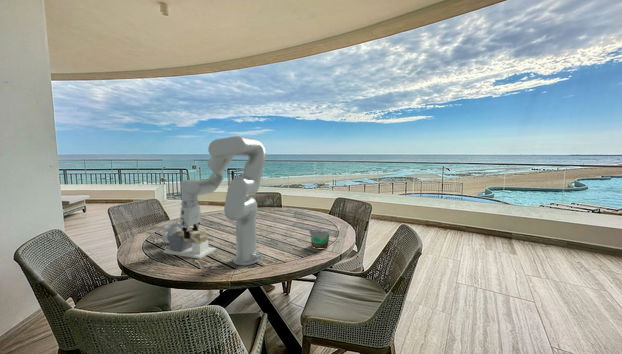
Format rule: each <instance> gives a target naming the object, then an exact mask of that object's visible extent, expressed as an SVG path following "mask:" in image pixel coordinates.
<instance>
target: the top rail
mask: <svg viewBox="0 0 622 354" xmlns="http://www.w3.org/2000/svg"><path fill="white" fill-rule="evenodd" d="M189 232H190V239H185V238H184V231H183V230H182V229H181V230H179V231H176V236H181V237H182V241H185V242H192V243H199V244H201V243H203V242H205V241H206V240H207V232H206V231H200V230H198V231H193V230H192V229H191V230H190V229H189Z"/></svg>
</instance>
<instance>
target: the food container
mask: <svg viewBox="0 0 622 354" xmlns="http://www.w3.org/2000/svg"><path fill="white" fill-rule="evenodd" d="M308 233H309V235H310V240H311V241H310V242H311V247H312V246H313V247H315V248H326V247H327V246H328V247H329V241H330V235H331V231H330V229H329V230H327V231H326V230H321V229H319V230H312V229H311V228H310V229H309V232H308ZM326 249H327V248H326Z"/></svg>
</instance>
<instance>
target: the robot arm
mask: <svg viewBox="0 0 622 354" xmlns="http://www.w3.org/2000/svg"><path fill="white" fill-rule="evenodd" d="M207 147H208V149H207V150H208V153H209V155H210V156H211V157H210V159H208V161H207V167H208V168H209V170H210V171H212V173H211V174H210V176H209V177H208V178H207V179H200V180H195V179H187V180H185V179H184V180H183V181H181V183H180V185H181V186H180V190H181V191H180V193H181V203H180V205H181V209H180V215H179V217H180V218H179V221H180V223H178V224H179V226H178V227H179V228H180V229H182V230H183V231H184V238H185V239H190V232H189V230H190V227H191V226H193V227H192V229H191V230H193V231H199V227H200V224H201V223H202V221H203V219H202V214H201V213H202V211H201V208H200V207H201V206H200V204H199V198H198V196H201V195H208V194H211V193H213V192H215V191H216V190H217V189H218V188H219V187H220V185H221V183H222V182H223V180H224V171H225V169H226V168H227V167H228V165H229V164H230V163H231V162H232V161H233V159H234V157H236V156H241V157H243V156H247V157H248V158H247V160H246V162H245V164H244V168H243V172H242V175H241V176H236V177H234V178H232V179H231V181H230V183H229V184H228V187H227V190H226V191H227V192H226V195H225V196H226V197H225V201H224V207H223V208H224V209H223V210H224V211H223V212H224V215H225V217H226V219H228V220H229V221H231V222H236V223H235V253H236V254H235V255H236V256H235V255H234V257H233V259H232V261H233V263H234V265H237V266H250V265H253V264H255V263H258V262H259V261H263V259H264V255H263V253H259V250H258V249H257V215H258V203H257V200H256V198H254V197H253V196H252V195H255V194H257V193H258V191H259V188H260V185H261V180H262V176H263V171H264V166H265V161H266V157H267V153H266V149H265V146H264V145H263V143H261V141H259V140H258V139H255V138H253V137H247V136H240V135H239V136H238V135H236V136H229V137H224V138H223V137H221V138H218V139H217V138H216V139H214V140H212V141H211V142H210V143H209V145H208V146H207Z"/></svg>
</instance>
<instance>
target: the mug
mask: <svg viewBox="0 0 622 354" xmlns="http://www.w3.org/2000/svg"><path fill="white" fill-rule="evenodd" d="M179 224H180V223H171V224H167V225H165V226H164V227H163V232H164V233H163V234H162V236H161V240H162V242H163V243H165V244H168V245H169V241H168V235H170V234H173V233H176V231H179V230H181V229H180V228H179V227H178V226H179Z"/></svg>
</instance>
